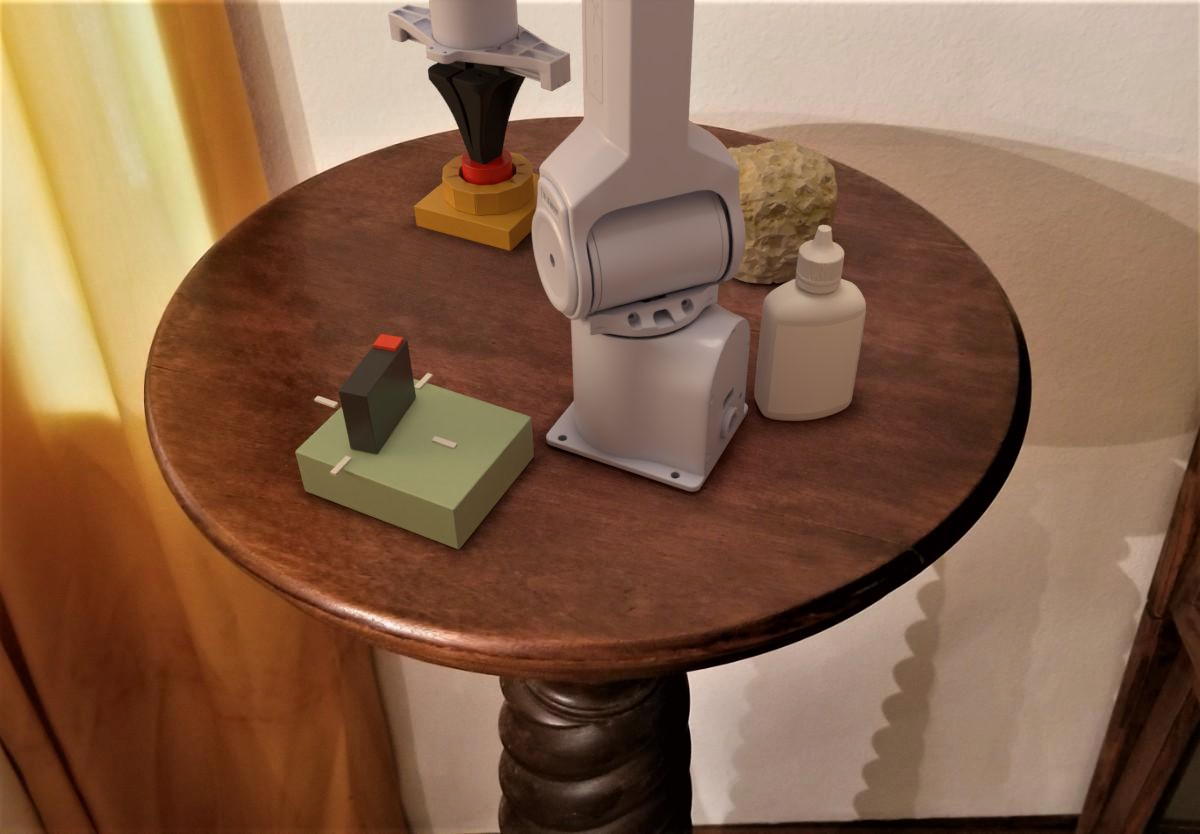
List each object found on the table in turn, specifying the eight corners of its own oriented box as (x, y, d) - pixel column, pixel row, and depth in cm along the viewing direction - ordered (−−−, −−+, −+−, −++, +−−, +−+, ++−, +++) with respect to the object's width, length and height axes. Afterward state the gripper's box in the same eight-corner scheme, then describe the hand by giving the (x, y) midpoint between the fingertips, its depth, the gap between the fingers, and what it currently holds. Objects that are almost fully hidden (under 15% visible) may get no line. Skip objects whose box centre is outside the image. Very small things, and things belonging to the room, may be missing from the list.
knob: (377, 454, 61) (365, 392, 58) (350, 448, 61) (337, 387, 58) (416, 396, 64) (407, 336, 62) (390, 391, 65) (380, 330, 62)
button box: (564, 199, 87) (562, 157, 84) (510, 251, 81) (507, 208, 79) (473, 177, 89) (469, 136, 87) (416, 226, 84) (410, 183, 82)
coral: (711, 292, 77) (717, 191, 72) (687, 221, 84) (690, 125, 79) (845, 281, 78) (861, 181, 73) (810, 212, 85) (821, 116, 80)
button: (522, 173, 84) (520, 151, 83) (497, 195, 82) (495, 173, 80) (480, 162, 85) (478, 141, 84) (454, 184, 83) (451, 162, 82)
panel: (539, 450, 65) (537, 407, 63) (453, 558, 59) (446, 515, 57) (372, 394, 69) (364, 352, 67) (274, 489, 63) (262, 446, 61)
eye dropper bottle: (842, 436, 66) (872, 258, 58) (747, 416, 67) (763, 241, 59) (855, 390, 69) (884, 215, 61) (763, 372, 70) (780, 200, 63)
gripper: (345, -40, 74) (374, 150, 83) (515, 9, 68) (528, 210, 77) (421, -70, 79) (441, 114, 88) (588, -26, 72) (592, 168, 81)
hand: (486, 157), depth 82 cm, fingers closed, pressing on button
